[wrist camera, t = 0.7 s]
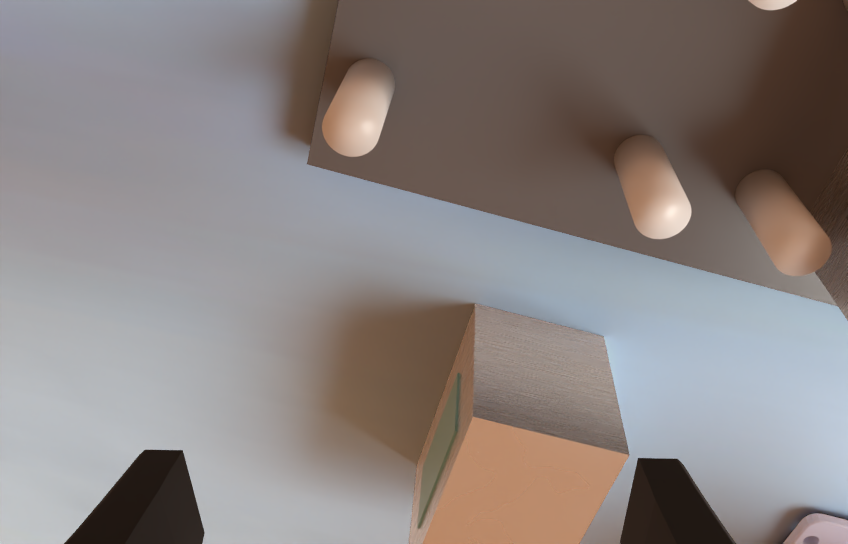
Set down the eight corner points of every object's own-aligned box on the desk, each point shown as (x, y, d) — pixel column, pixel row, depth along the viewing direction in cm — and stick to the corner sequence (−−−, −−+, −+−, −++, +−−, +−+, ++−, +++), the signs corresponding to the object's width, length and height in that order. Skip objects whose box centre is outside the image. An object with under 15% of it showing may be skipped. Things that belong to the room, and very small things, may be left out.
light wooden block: (527, 489, 27) (535, 619, 23) (415, 462, 27) (401, 589, 22) (603, 334, 23) (629, 455, 19) (473, 300, 23) (469, 416, 19)
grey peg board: (967, 324, 22) (1054, 421, 19) (314, 148, 20) (279, 219, 17) (1253, -35, 17) (1449, 8, 13) (404, -305, 15) (380, -334, 12)
